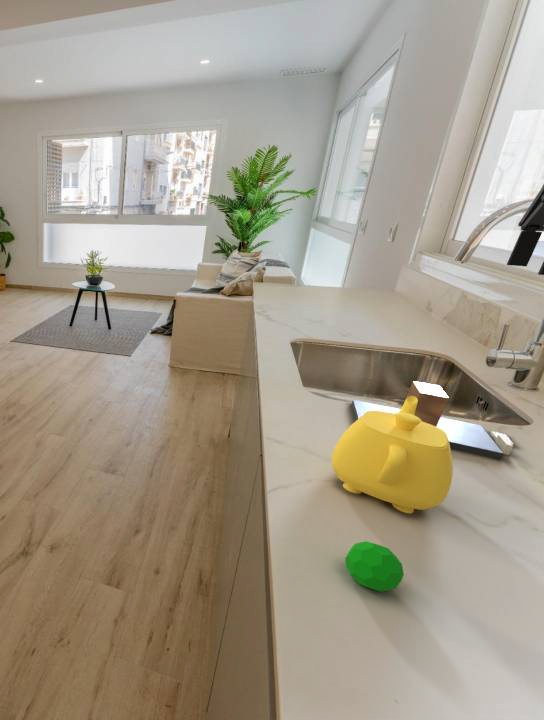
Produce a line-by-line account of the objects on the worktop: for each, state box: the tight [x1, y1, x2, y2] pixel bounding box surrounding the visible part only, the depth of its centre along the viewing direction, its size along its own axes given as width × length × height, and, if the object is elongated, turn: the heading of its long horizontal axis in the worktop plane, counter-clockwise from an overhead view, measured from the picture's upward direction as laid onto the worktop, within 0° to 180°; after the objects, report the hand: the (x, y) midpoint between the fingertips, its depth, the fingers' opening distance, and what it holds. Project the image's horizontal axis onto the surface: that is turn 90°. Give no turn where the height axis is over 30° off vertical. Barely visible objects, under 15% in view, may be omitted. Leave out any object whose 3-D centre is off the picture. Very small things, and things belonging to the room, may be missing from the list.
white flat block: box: [489, 430, 515, 446], centre depth 77 cm, size 2×4×1 cm, turn 150°
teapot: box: [331, 396, 454, 514], centre depth 61 cm, size 13×20×12 cm
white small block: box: [494, 435, 514, 456], centre depth 74 cm, size 2×4×1 cm
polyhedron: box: [344, 540, 405, 592], centre depth 47 cm, size 5×5×5 cm
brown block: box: [405, 380, 450, 427], centre depth 78 cm, size 4×6×7 cm, turn 150°
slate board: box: [350, 399, 505, 461], centre depth 80 cm, size 20×11×2 cm, turn 61°
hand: (531, 270), depth 79 cm, fingers open, 13 cm apart
